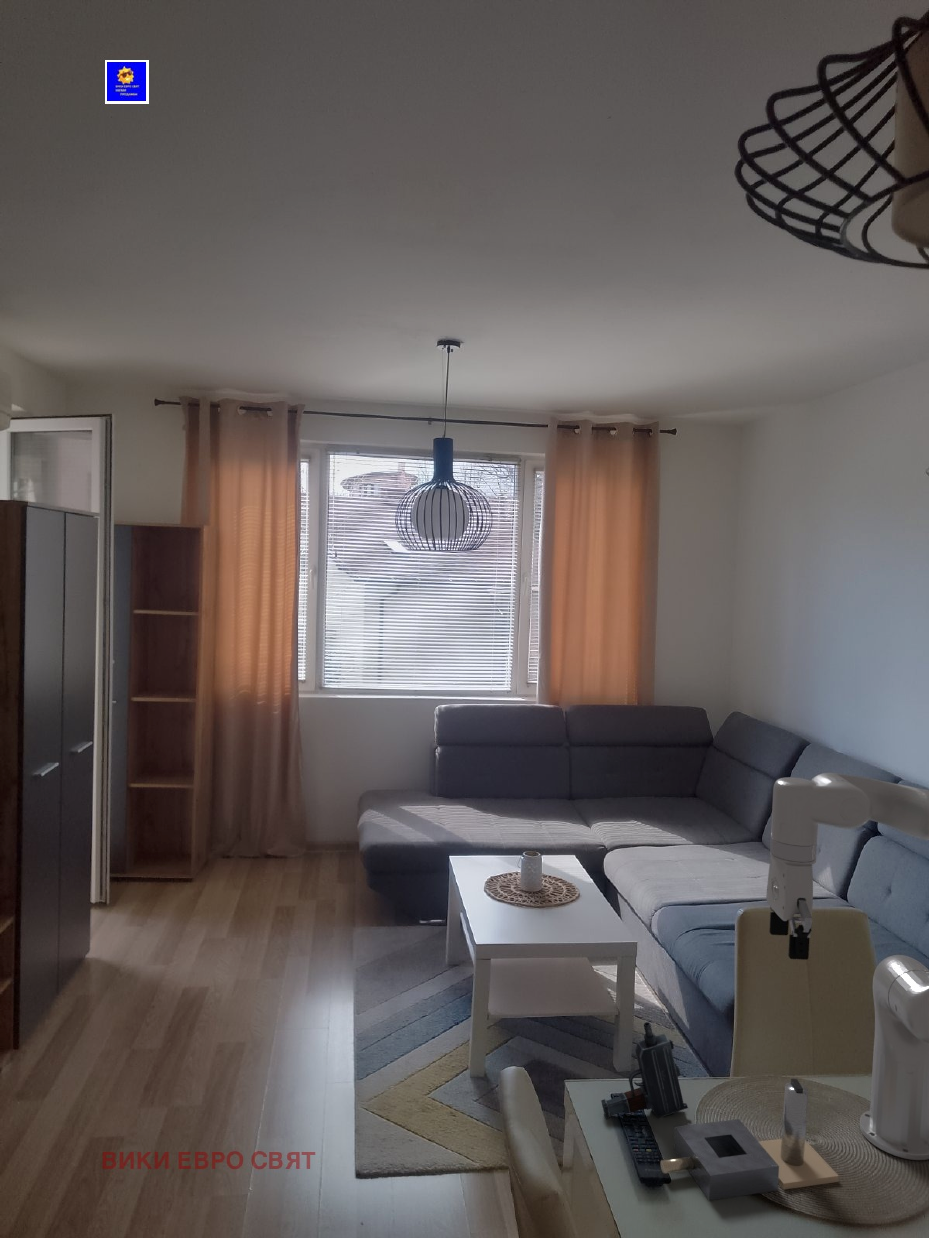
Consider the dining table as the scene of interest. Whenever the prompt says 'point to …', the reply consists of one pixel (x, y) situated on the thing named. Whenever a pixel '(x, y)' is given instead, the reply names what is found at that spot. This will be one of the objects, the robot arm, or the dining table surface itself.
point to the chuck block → (723, 1159)
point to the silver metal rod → (794, 1123)
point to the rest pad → (800, 1167)
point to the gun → (651, 1080)
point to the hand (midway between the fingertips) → (788, 945)
